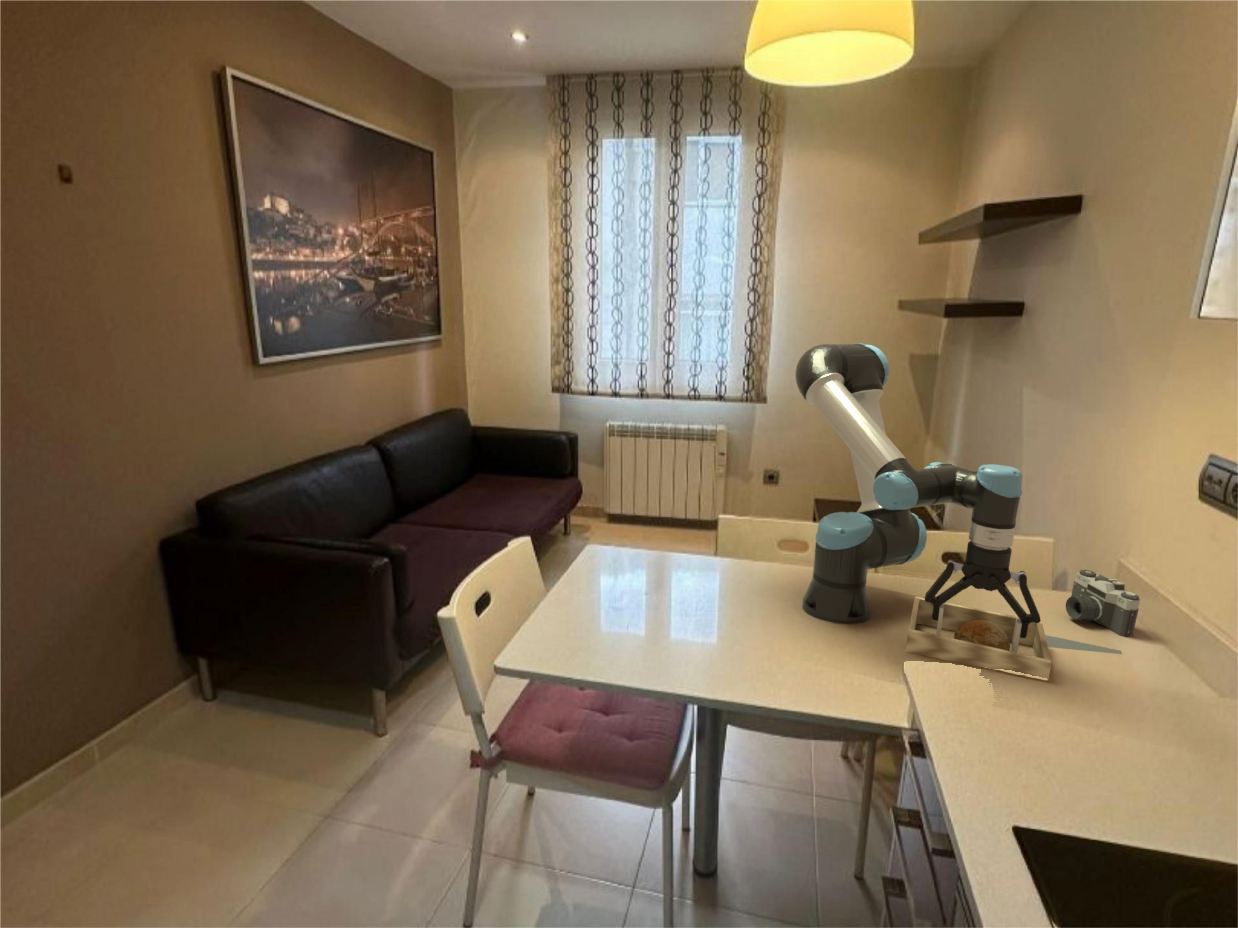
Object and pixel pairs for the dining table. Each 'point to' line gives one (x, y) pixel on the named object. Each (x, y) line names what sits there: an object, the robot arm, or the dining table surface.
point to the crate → (972, 651)
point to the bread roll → (983, 634)
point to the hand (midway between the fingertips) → (975, 642)
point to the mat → (1077, 645)
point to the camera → (1103, 602)
